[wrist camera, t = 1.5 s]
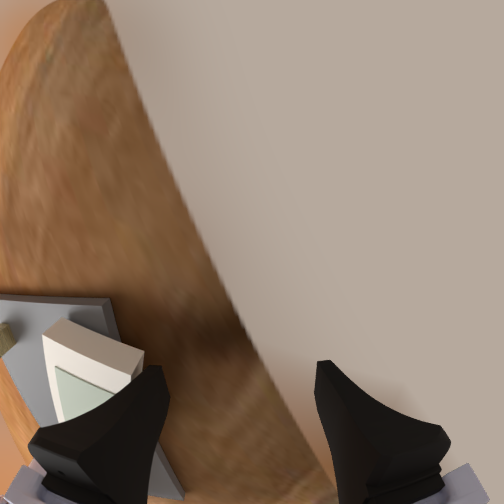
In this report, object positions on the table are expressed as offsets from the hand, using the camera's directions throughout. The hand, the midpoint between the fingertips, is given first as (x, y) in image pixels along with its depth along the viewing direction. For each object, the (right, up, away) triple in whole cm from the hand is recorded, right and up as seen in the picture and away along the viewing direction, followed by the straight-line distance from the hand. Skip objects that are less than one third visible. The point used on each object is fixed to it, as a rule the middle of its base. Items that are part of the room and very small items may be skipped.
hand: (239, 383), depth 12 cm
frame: (-10, -7, +2) cm, 12 cm away
